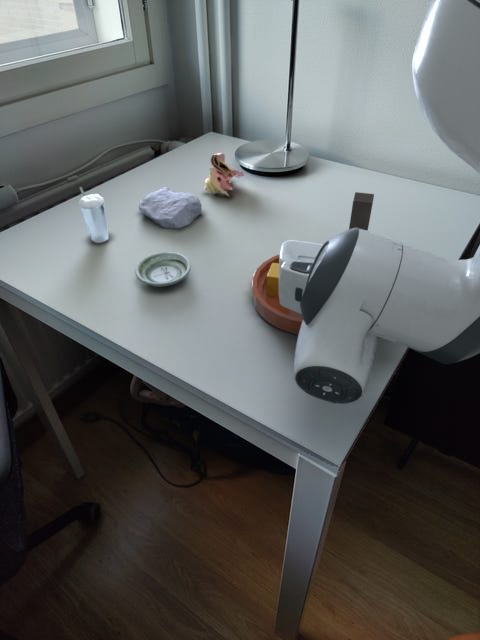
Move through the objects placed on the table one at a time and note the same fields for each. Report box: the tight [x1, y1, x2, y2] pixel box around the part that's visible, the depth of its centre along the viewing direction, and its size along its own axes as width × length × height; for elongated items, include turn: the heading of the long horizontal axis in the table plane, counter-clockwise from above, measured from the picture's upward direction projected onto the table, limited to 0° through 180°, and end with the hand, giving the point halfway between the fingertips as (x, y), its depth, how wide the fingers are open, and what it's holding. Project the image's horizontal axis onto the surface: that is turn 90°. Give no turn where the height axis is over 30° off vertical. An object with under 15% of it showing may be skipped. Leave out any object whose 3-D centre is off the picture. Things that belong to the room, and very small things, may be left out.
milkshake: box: [78, 186, 109, 244], centre depth 89 cm, size 5×5×10 cm
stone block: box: [138, 186, 203, 230], centre depth 98 cm, size 12×5×10 cm
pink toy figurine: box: [203, 152, 245, 197], centre depth 106 cm, size 9×10×10 cm
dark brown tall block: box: [348, 191, 375, 231], centre depth 68 cm, size 4×4×14 cm
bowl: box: [251, 253, 303, 335], centre depth 76 cm, size 20×20×3 cm
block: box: [266, 263, 279, 297], centre depth 76 cm, size 4×4×4 cm
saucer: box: [134, 251, 192, 288], centre depth 81 cm, size 10×10×2 cm
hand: (356, 240), depth 69 cm, fingers closed on dark brown tall block, 2 cm apart
